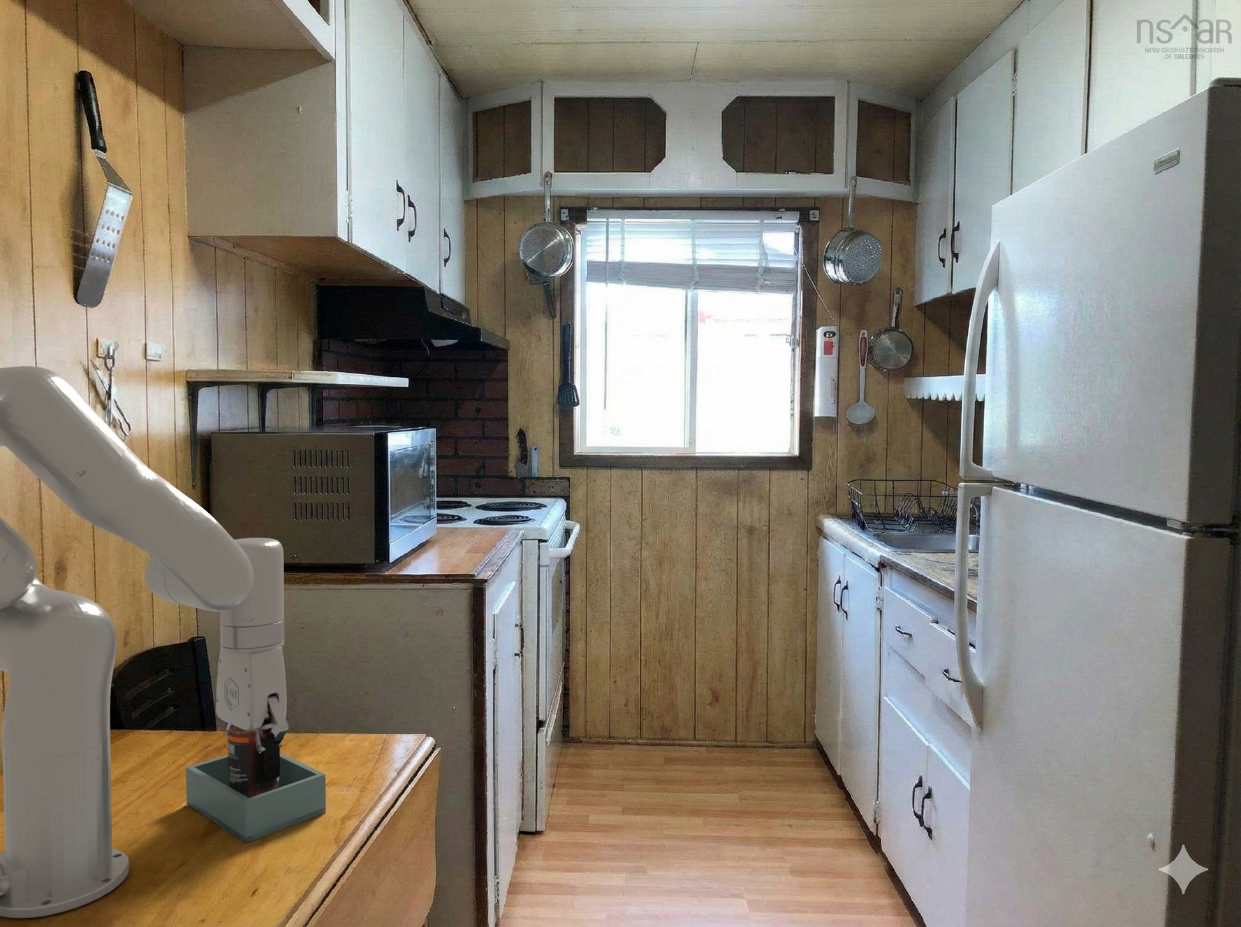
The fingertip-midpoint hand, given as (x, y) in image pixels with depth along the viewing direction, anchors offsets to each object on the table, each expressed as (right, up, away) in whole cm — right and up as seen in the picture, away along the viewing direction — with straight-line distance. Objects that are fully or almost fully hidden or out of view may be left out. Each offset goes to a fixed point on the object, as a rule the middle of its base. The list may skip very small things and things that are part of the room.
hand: (253, 771), depth 108 cm
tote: (0, -5, 0) cm, 5 cm away
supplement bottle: (0, -3, 0) cm, 3 cm away
